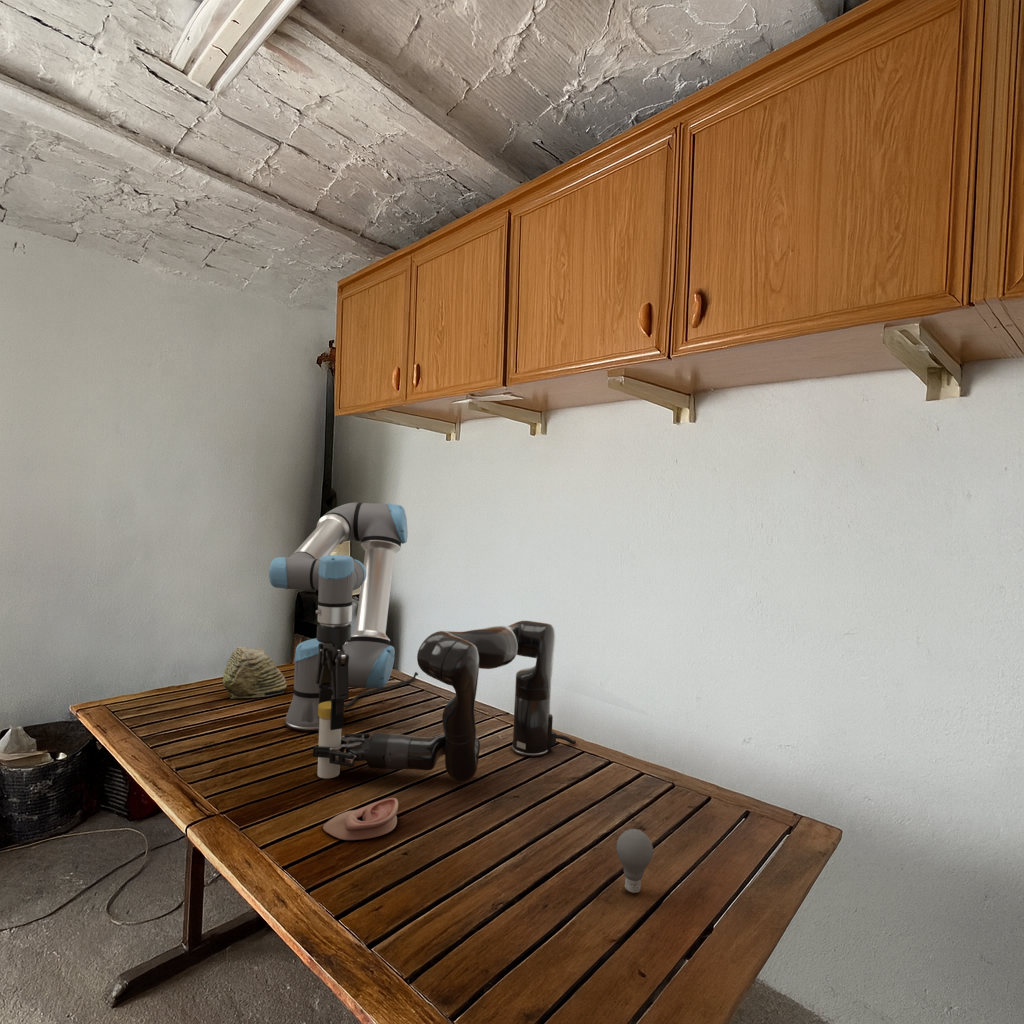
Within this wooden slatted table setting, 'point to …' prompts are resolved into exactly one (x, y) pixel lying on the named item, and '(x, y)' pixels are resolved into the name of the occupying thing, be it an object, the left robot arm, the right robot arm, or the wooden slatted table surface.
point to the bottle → (328, 740)
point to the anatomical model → (364, 821)
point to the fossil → (252, 674)
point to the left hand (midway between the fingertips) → (330, 722)
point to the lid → (324, 710)
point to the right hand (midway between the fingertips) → (318, 746)
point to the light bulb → (634, 857)
